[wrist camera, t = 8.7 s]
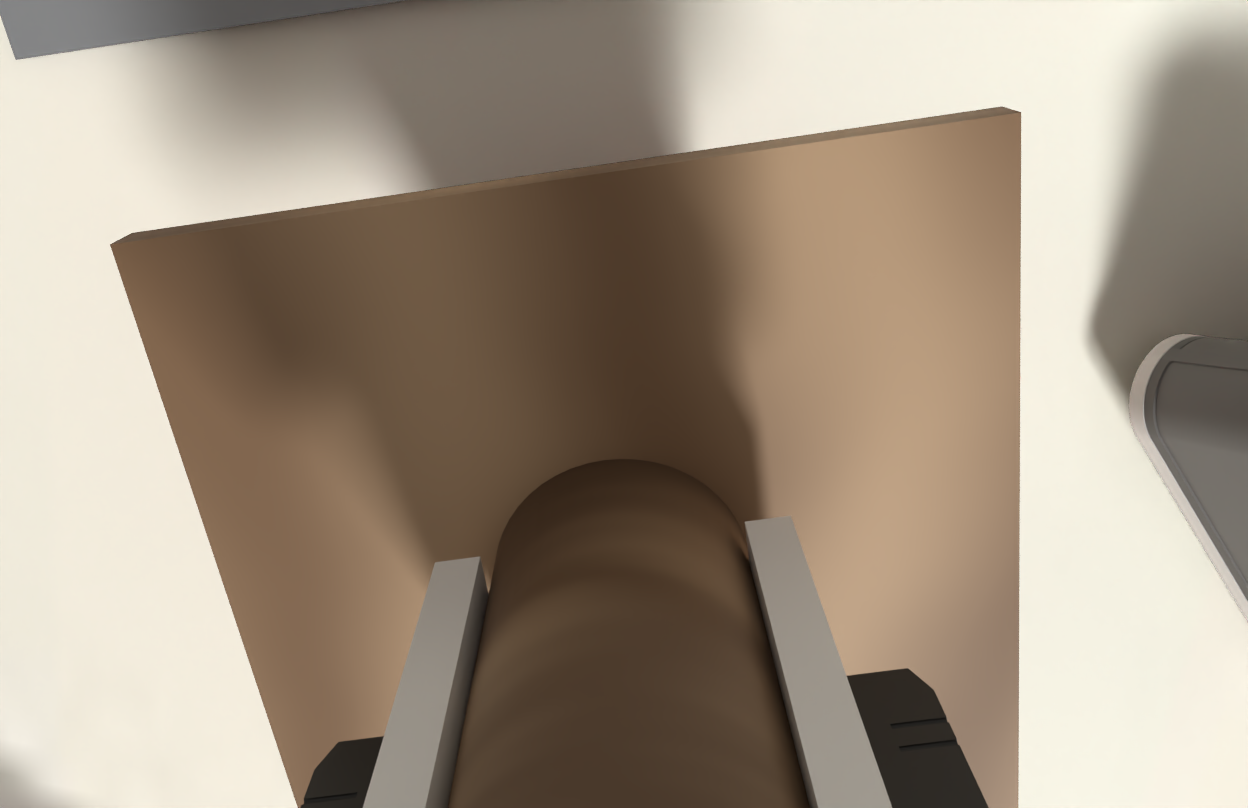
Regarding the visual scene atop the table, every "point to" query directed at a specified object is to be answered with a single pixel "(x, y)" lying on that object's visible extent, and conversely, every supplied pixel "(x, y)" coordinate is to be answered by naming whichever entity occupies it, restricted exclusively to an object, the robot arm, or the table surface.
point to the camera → (1201, 442)
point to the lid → (615, 448)
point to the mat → (140, 20)
